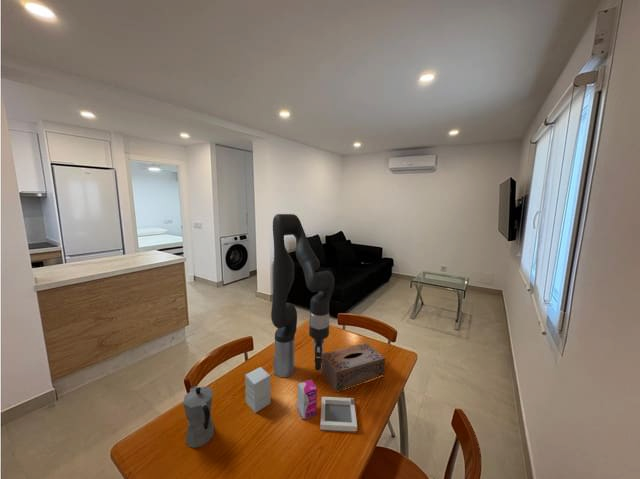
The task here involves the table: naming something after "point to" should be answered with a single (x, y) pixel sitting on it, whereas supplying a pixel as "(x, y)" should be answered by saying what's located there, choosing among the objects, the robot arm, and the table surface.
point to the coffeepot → (199, 416)
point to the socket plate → (338, 414)
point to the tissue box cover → (352, 365)
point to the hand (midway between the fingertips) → (318, 362)
